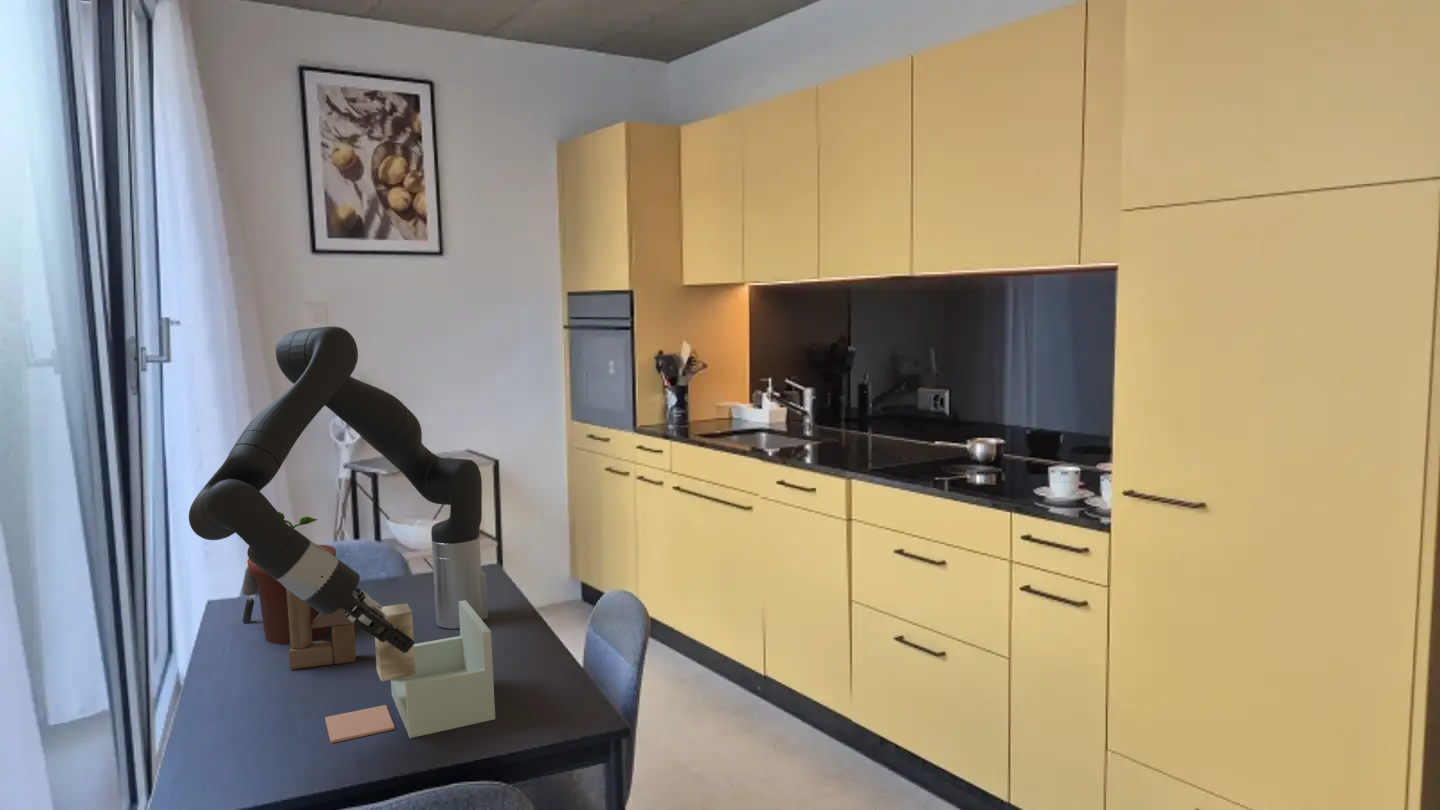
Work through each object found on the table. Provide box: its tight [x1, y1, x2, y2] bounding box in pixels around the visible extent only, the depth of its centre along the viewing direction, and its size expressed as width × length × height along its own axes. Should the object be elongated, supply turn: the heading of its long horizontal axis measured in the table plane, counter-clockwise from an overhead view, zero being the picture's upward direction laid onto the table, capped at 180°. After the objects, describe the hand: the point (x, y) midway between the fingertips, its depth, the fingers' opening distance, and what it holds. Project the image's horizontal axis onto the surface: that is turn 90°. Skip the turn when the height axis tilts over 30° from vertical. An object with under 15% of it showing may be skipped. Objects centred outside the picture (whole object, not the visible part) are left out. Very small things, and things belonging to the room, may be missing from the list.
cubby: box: [390, 600, 496, 739], centre depth 149 cm, size 13×17×14 cm
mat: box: [324, 704, 396, 744], centre depth 144 cm, size 9×9×1 cm
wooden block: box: [287, 589, 357, 671], centre depth 169 cm, size 4×11×18 cm, turn 108°
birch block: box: [374, 602, 416, 682], centre depth 145 cm, size 5×5×10 cm
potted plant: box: [241, 511, 337, 645], centre depth 186 cm, size 18×22×25 cm
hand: (406, 641), depth 146 cm, fingers closed on birch block, 5 cm apart
